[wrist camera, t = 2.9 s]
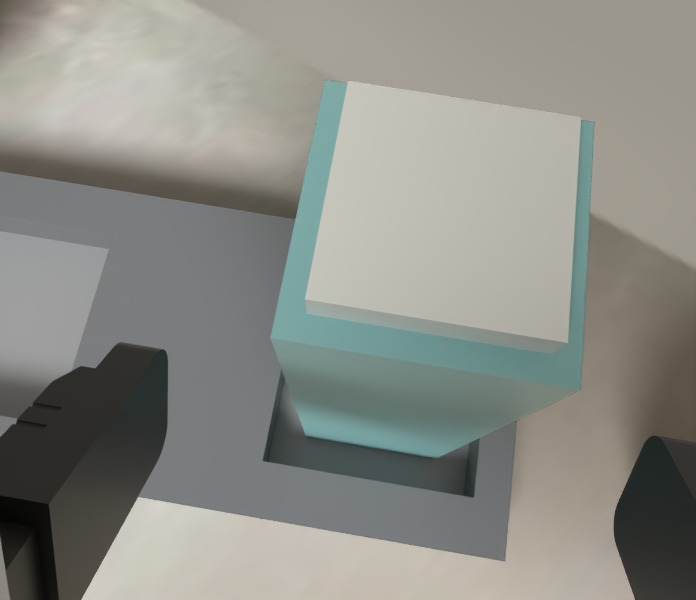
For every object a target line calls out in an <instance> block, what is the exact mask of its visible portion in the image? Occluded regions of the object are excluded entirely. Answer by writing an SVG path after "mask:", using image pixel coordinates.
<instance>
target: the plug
mask: <svg viewBox="0 0 696 600" xmlns="http://www.w3.org/2000/svg"><path fill="white" fill-rule="evenodd" d="M593 139H594V122H592V121H585V120H581V117H579V116H572V115H566V114H560V113H554V112H547V111H540V110H534V109H527V108H521V107H515V106H509V105H502V104H495V103H489V102H483V101H476V100H470V99H463V98H457V97H451V96H444V95H438V94H432V93H425V92H418V91H412V90H405V89H399V88H393V87H387V86H380V85H374V84H367V83H361V82H354V81H348V83H341V82H335V81H329V80H325V82H324V87H323V91H322V96H321V101H320V105H319V110H318V115H317V120H316V124H315V129H314V134H313V139H312V143H311V148H310V153H309V157H308V162H307V167H306V172H305V176H304V181H303V186H302V191H301V195H300V200H299V205H298V209H297V214H296V219H295V224H294V228H293V233H292V238H291V243H290V247H289V252H288V257H287V261H286V266H285V271H284V276H283V280H282V285H281V290H280V295H279V299H278V304H277V309H276V313H275V318H274V323H273V328H272V332H271V337H270V338H271V341H272V344H273V347H274V350H275V352H276V355H277V358H278V361H279V363H280V366H281V369H282V372H283V374H284V377H285V380H286V383H287V386H288V388H289V391H290V394H291V397H292V399H293V402H294V405H295V408H296V411H297V413H298V416H299V419H300V422H301V424H302V427H303V430H304V433H305V435H306V437H308V438H314V439H320V440H326V441H332V442H338V443H343V444H349V445H355V446H361V447H367V448H372V449H378V450H384V451H390V452H396V453H401V454H407V455H413V456H419V457H425V458H431V459H436V458H438V457H440V456H442V455H445V454H447V453H449V452H451V451H453V450H455V449H457V448H459V447H461V446H464V445H466V444H468V443H470V442H472V441H474V440H476V439H478V438H480V437H483V436H485V435H487V434H489V433H491V432H493V431H495V430H497V429H500V428H502V427H504V426H506V425H508V424H510V423H512V422H514V421H516V420H519V419H521V418H523V417H525V416H527V415H529V414H531V413H533V412H535V411H538V410H540V409H542V408H544V407H546V406H548V405H550V404H552V403H555V402H557V401H559V400H561V399H563V398H565V397H567V396H569V395H571V394H574V393H576V392H578V391H580V390H581V376H582V356H583V336H584V317H585V297H586V277H587V258H588V238H589V218H590V198H591V178H592V159H593Z"/></svg>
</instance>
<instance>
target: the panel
mask: <svg viewBox="0 0 696 600" xmlns="http://www.w3.org/2000/svg"><path fill="white" fill-rule="evenodd" d="M294 224H295V219H292V218H286V217H279V216H273V215H267V214H261V213H255V212H249V211H242V210H236V209H230V208H224V207H218V206H212V205H206V204H199V203H193V202H187V201H181V200H175V199H169V198H162V197H156V196H150V195H144V194H138V193H132V192H125V191H119V190H113V189H107V188H101V187H95V186H88V185H82V184H76V183H70V182H64V181H58V180H52V179H45V178H39V177H33V176H27V175H21V174H15V173H8V172H2V171H0V437H1V436H2V435H3V434H4V433H5V432H6V431H7V429H8V428H9V427H10V426H11V425H12V424H16V422H17V419H18V418H19V417H20V416H21V414H22V413H23V412H24V411H25V410H26V409H27V408H28V407H29V406H31V407H32V405H33V402H34V400H35V399H36V398H37V397H38V396H39V395H40V394H41V393H42V392H43V391H44V390H45V389H46V388H47V387H48V385H49V384H50V383H51V382H52V381H54V380H56V379H58V378H60V377H61V376H63V375H65V374H67V373H69V372H71V371H73V370H74V369H76V368H78V367H80V366H85V367H91V368H96V367H97V366H98V365H99V364H100V362H101V361H102V360H103V359H104V358H105V357H106V355H107V354H108V353H109V352H110V351H111V349H112V348H113V347H114V346H115V345H116V344H117V343H119V342H124V343H130V344H135V345H141V346H147V347H153V348H158V349H164V350H165V351H166V353H167V356H168V424H167V433H166V438H165V442H164V446H163V449H162V452H161V455H160V457H159V460H158V461H157V463H156V465H155V467H154V469H153V471H152V472H151V474H150V476H149V478H148V480H147V481H146V483H145V485H144V487H143V489H142V490H141V492H140V494H139V496H138V497H142V498H148V499H154V500H159V501H165V502H171V503H176V504H182V505H188V506H193V507H199V508H205V509H210V510H216V511H222V512H227V513H233V514H239V515H244V516H250V517H256V518H261V519H267V520H273V521H278V522H284V523H290V524H296V525H301V526H307V527H313V528H318V529H324V530H330V531H335V532H341V533H347V534H352V535H358V536H364V537H369V538H375V539H381V540H386V541H392V542H398V543H403V544H409V545H415V546H420V547H426V548H432V549H437V550H443V551H449V552H455V553H460V554H466V555H472V556H477V557H483V558H489V559H494V560H500V561H505V556H506V544H507V532H508V520H509V507H510V495H511V483H512V471H513V458H514V446H515V434H516V422H517V420H516V421H514V422H512V423H510V424H508V425H506V426H504V427H502V428H500V429H497V430H495V431H493V432H491V433H489V434H487V435H485V436H483V437H480V438H478V439H476V440H474V441H472V442H470V443H468V444H466V445H464V446H461V447H459V448H457V449H455V450H453V451H451V452H449V453H447V454H445V455H442V456H440V457H438V458H436V459H431V458H425V457H419V456H413V455H407V454H401V453H396V452H390V451H384V450H378V449H372V448H367V447H361V446H355V445H349V444H343V443H338V442H332V441H326V440H320V439H314V438H308V437H306V435H305V433H304V430H303V427H302V424H301V422H300V419H299V416H298V413H297V411H296V408H295V405H294V402H293V399H292V397H291V394H290V391H289V388H288V386H287V383H286V380H285V377H284V374H283V372H282V369H281V366H280V363H279V361H278V358H277V355H276V352H275V350H274V347H273V344H272V341H271V338H270V337H271V332H272V328H273V323H274V318H275V313H276V309H277V304H278V299H279V295H280V290H281V285H282V280H283V276H284V271H285V266H286V261H287V257H288V252H289V247H290V243H291V238H292V233H293V228H294Z"/></svg>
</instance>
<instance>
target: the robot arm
mask: <svg viewBox="0 0 696 600" xmlns="http://www.w3.org/2000/svg"><path fill="white" fill-rule="evenodd" d="M167 424H168V356H167V353H166V351H165V350H164V349H158V348H153V347H147V346H141V345H135V344H130V343H124V342H119V343H117V344H116V345H115V346H114V347H113V348H112V349H111V351H110V352H109V353H108V354H107V355H106V357H105V358H104V359H103V360H102V361H101V362H100V364H99V365H98V366H97V367H96V368H91V367H85V366H80V367H78V368H76V369H74V370H73V371H71V372H69V373H67V374H65V375H63V376H61V377H60V378H58V379H56V380H54V381H52V382H51V383H50V384H49V385H48V387H47V388H46V389H45V390H44V391H43V392H42V393H41V394H40V395H39V396H38V397H37V398H36V399H35V400H34V402H33V405H32V407H31V406H29V407H28V408H27V409H26V410H25V411H24V412H23V413H22V414H21V416H20V417H19V418H18V419H17V422H16V424H12V425H11V426H10V427H9V428H8V429H7V431H6V432H5V433H4V434H3V435H2V436H1V437H0V600H81V599H82V597H83V595H84V593H85V592H86V590H87V588H88V586H89V584H90V583H91V581H92V579H93V577H94V575H95V574H96V572H97V570H98V568H99V566H100V565H101V563H102V561H103V559H104V557H105V556H106V554H107V552H108V550H109V548H110V546H111V545H112V543H113V541H114V539H115V537H116V536H117V534H118V532H119V530H120V528H121V527H122V525H123V523H124V521H125V519H126V518H127V516H128V514H129V512H130V510H131V509H132V507H133V505H134V503H135V501H136V500H137V498H138V496H139V494H140V492H141V490H142V489H143V487H144V485H145V483H146V481H147V480H148V478H149V476H150V474H151V472H152V471H153V469H154V467H155V465H156V463H157V461H158V460H159V457H160V455H161V452H162V449H163V446H164V442H165V438H166V433H167ZM614 537H615V542H616V546H617V549H618V552H619V554H620V557H621V560H622V563H623V566H624V569H625V572H626V574H627V577H628V580H629V583H630V586H631V589H632V592H633V594H634V597H635V600H696V443H694V442H688V441H682V440H676V439H670V438H665V437H659V436H652V437H650V438H649V439H648V440H647V441H646V442H645V444H644V446H643V448H642V450H641V452H640V454H639V457H638V459H637V461H636V463H635V466H634V468H633V470H632V472H631V475H630V477H629V479H628V481H627V484H626V486H625V488H624V490H623V493H622V495H621V497H620V499H619V502H618V504H617V507H616V510H615V516H614Z"/></svg>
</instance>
